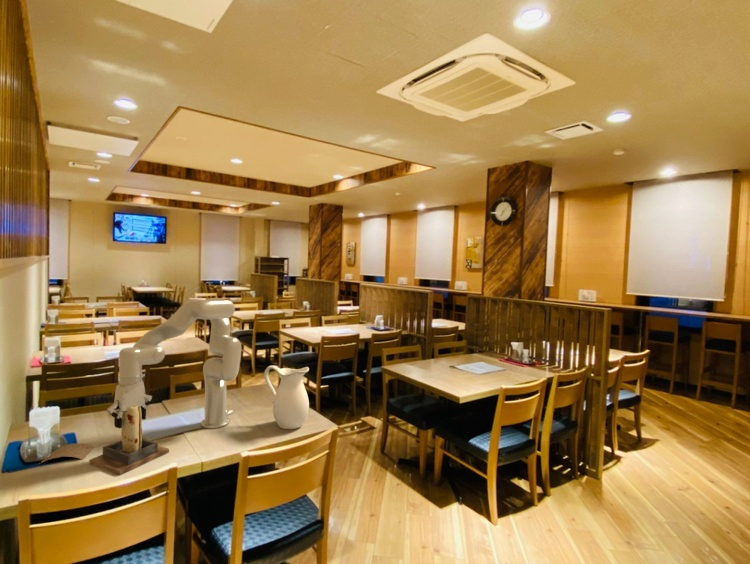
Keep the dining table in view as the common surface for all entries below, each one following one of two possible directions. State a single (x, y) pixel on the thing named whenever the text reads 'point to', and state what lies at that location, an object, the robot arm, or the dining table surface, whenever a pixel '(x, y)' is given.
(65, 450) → the brown curved panel
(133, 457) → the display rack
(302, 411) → the pitcher
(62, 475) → the dining table surface
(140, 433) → the food model
